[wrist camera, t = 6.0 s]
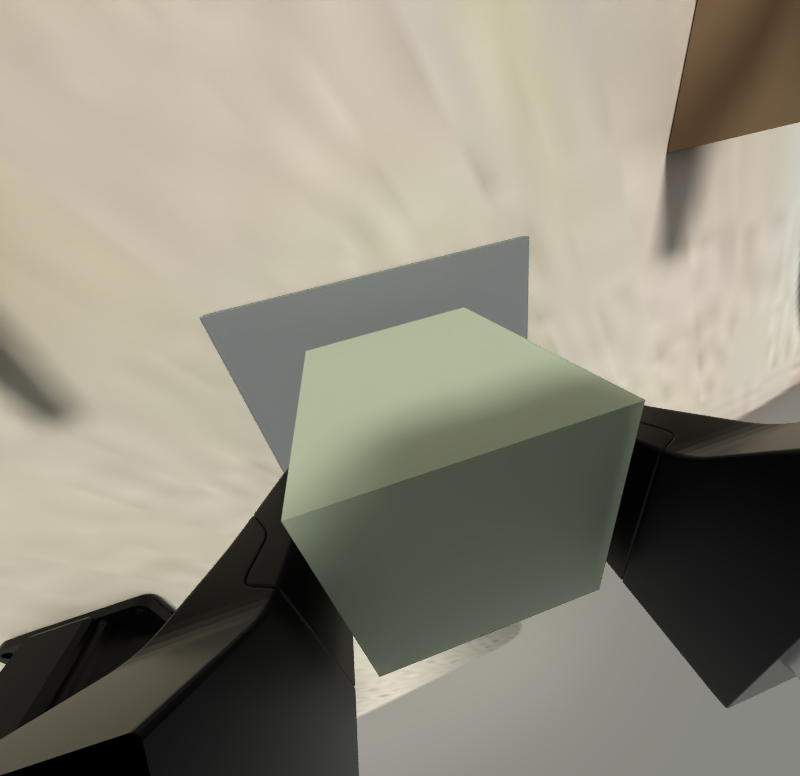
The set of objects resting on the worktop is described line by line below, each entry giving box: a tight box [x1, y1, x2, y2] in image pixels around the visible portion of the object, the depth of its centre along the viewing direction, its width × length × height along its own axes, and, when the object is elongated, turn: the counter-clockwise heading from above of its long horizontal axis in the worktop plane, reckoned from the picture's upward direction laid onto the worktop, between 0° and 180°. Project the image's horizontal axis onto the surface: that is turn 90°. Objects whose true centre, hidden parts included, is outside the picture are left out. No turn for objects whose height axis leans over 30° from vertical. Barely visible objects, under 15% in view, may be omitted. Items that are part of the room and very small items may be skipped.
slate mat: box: [200, 236, 529, 473], centre depth 12 cm, size 11×11×1 cm
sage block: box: [281, 307, 645, 677], centre depth 8 cm, size 5×5×6 cm
